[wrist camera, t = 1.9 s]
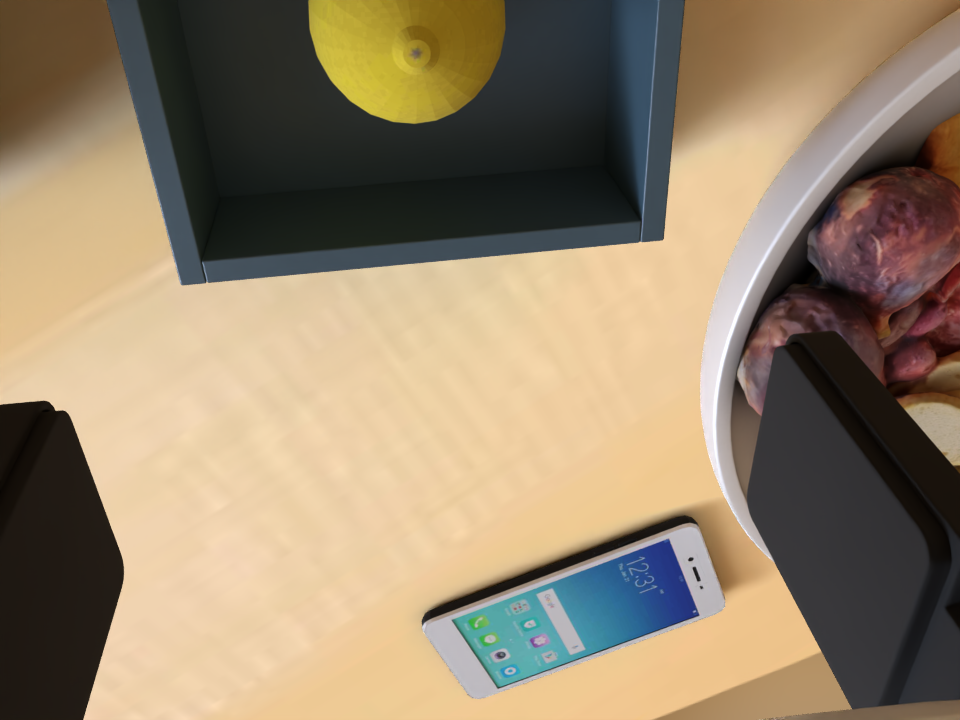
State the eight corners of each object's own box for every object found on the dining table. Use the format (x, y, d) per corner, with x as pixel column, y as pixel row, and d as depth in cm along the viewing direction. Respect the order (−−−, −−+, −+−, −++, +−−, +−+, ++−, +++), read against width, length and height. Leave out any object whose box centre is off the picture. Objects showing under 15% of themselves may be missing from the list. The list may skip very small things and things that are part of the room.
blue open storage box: (203, 216, 32) (180, 286, 27) (87, -282, 24) (28, -295, 19) (621, 179, 33) (663, 240, 29) (649, -303, 25) (714, -320, 20)
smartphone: (417, 626, 44) (697, 520, 42) (415, 613, 45) (691, 509, 43) (472, 703, 48) (729, 610, 47) (470, 690, 49) (724, 598, 47)
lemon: (453, -135, 26) (489, -107, 20) (505, 43, 29) (552, 120, 23) (283, -70, 27) (262, -21, 20) (352, 100, 30) (354, 191, 23)
